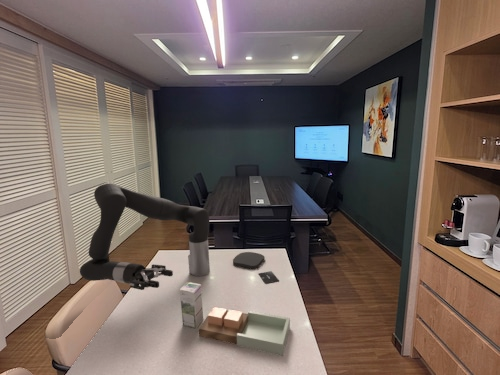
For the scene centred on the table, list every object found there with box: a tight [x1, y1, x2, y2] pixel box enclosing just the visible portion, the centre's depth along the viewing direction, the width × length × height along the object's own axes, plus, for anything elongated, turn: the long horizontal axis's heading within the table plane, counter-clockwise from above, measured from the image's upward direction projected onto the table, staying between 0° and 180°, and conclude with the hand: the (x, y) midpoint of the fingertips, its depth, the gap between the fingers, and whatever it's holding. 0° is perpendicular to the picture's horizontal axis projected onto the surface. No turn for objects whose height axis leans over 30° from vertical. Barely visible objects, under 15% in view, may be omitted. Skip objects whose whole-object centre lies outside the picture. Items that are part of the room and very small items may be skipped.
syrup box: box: [179, 281, 204, 329], centre depth 102 cm, size 6×6×14 cm
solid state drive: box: [258, 270, 280, 285], centre depth 134 cm, size 7×10×1 cm
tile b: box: [224, 309, 243, 329], centre depth 98 cm, size 5×5×3 cm
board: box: [198, 309, 248, 346], centre depth 99 cm, size 14×12×3 cm
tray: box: [236, 310, 291, 357], centre depth 95 cm, size 15×13×4 cm
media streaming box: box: [232, 251, 266, 270], centre depth 150 cm, size 15×15×3 cm
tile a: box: [207, 306, 228, 326], centre depth 100 cm, size 5×5×3 cm
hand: (165, 278), depth 103 cm, fingers open, 8 cm apart
